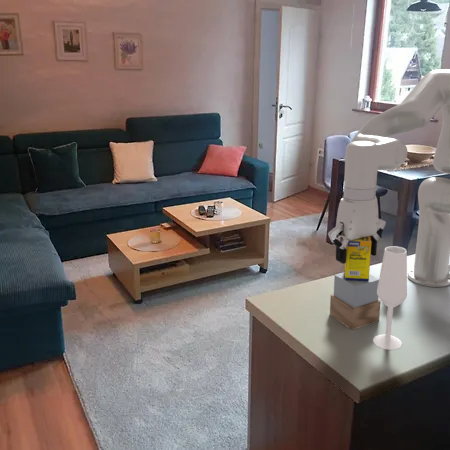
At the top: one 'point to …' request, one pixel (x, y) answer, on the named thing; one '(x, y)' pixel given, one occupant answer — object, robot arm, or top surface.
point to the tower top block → (355, 290)
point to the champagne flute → (392, 291)
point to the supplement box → (358, 259)
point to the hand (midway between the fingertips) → (356, 257)
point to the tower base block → (354, 313)
